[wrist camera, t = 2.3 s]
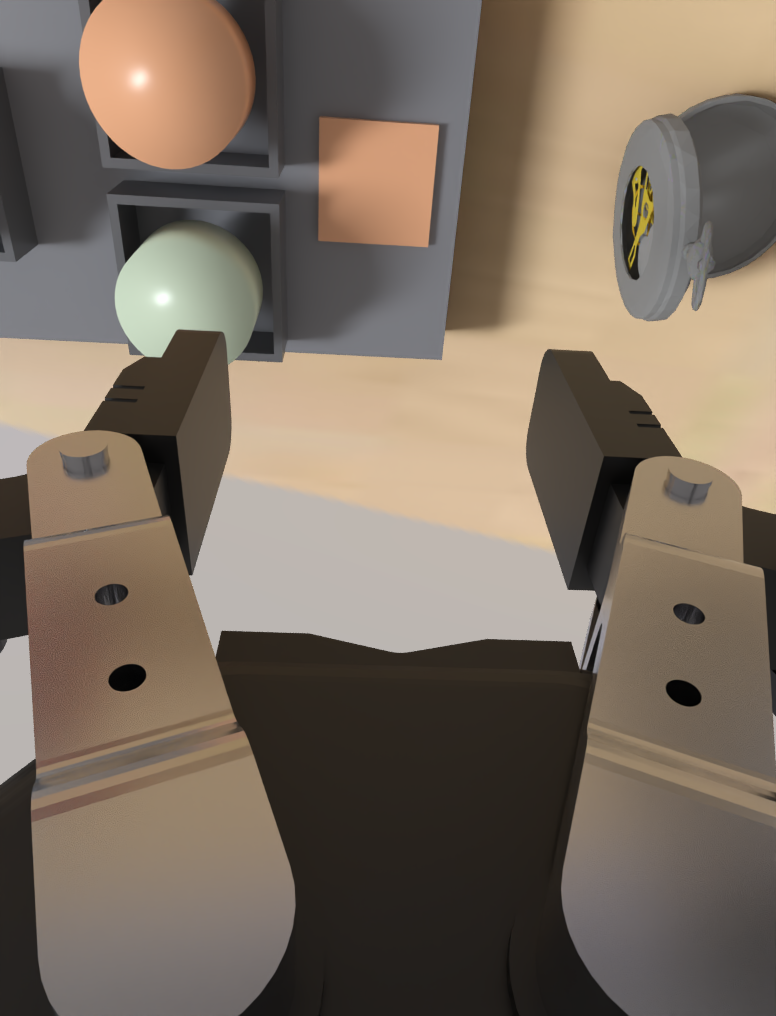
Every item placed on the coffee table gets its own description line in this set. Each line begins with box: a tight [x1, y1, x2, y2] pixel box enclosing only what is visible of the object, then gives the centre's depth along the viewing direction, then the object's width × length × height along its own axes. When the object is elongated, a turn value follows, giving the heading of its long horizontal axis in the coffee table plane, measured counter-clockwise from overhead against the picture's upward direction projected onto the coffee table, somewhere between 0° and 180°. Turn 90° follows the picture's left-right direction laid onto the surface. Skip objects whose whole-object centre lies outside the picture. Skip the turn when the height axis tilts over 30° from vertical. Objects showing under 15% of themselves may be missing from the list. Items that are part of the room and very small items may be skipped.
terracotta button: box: [79, 0, 256, 169], centre depth 21 cm, size 4×4×2 cm
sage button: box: [115, 220, 263, 364], centre depth 25 cm, size 4×4×2 cm
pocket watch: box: [613, 94, 776, 321], centre depth 25 cm, size 8×8×10 cm
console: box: [0, 0, 482, 362], centre depth 26 cm, size 22×13×5 cm, turn 86°
